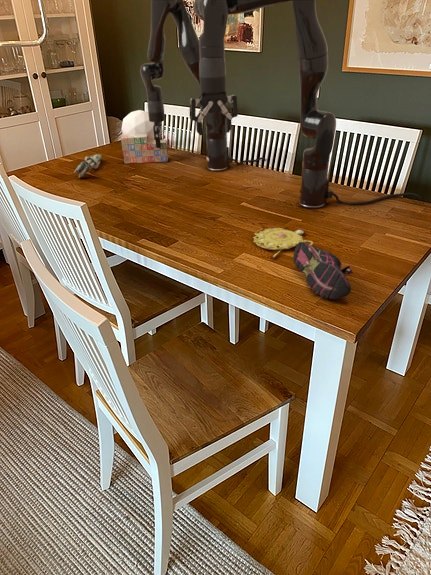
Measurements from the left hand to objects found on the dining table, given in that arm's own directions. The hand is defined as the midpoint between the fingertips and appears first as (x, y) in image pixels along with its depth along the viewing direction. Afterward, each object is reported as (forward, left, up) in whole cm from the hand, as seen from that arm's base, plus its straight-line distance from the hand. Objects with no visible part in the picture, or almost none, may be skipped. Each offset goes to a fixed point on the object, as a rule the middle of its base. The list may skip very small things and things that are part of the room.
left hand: (159, 145), depth 216 cm
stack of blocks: (+6, -3, -7) cm, 10 cm away
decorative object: (+8, +105, -7) cm, 105 cm away
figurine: (+34, -6, -7) cm, 36 cm away
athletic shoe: (+13, +130, -7) cm, 131 cm away
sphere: (-2, -27, -7) cm, 28 cm away
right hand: (+19, +83, +24) cm, 89 cm away
